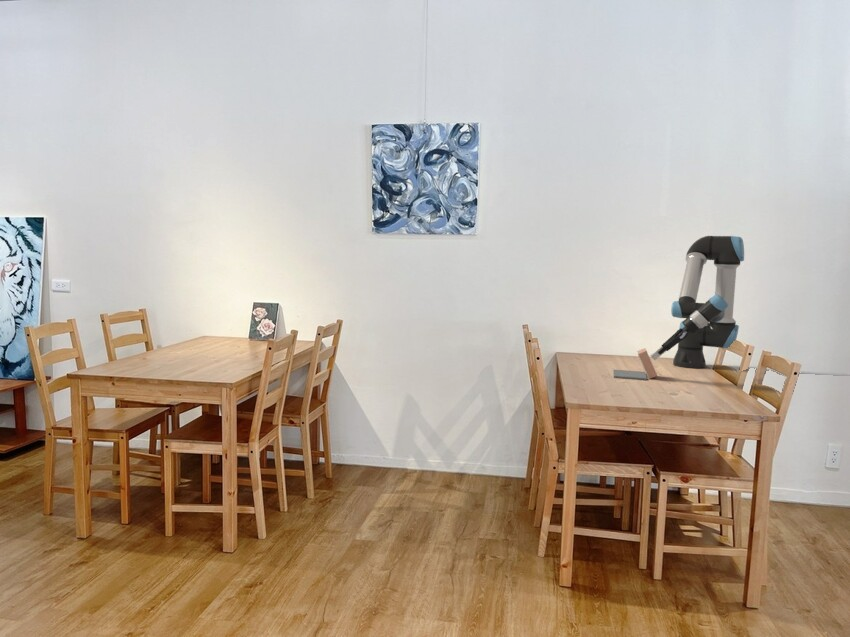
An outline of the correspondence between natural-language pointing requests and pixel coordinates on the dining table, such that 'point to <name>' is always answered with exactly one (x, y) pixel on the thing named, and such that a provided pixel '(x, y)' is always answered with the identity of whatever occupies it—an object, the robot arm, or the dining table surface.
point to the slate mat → (629, 374)
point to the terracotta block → (646, 363)
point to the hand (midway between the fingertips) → (652, 358)
